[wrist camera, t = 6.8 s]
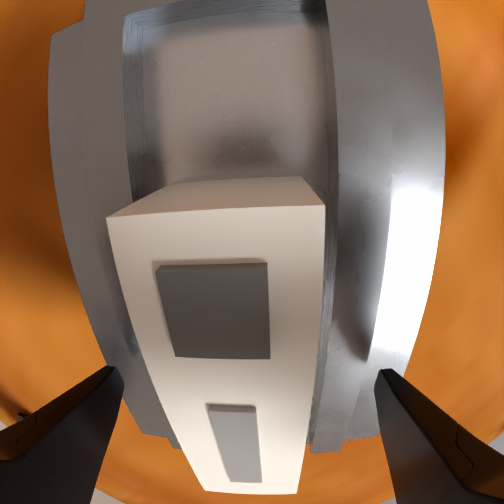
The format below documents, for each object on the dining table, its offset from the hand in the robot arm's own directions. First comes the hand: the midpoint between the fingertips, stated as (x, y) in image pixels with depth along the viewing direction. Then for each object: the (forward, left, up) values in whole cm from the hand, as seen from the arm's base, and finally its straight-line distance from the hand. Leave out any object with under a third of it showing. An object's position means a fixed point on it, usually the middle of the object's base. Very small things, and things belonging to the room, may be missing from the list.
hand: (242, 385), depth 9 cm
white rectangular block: (0, 0, -2) cm, 2 cm away
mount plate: (+3, 0, -4) cm, 4 cm away
